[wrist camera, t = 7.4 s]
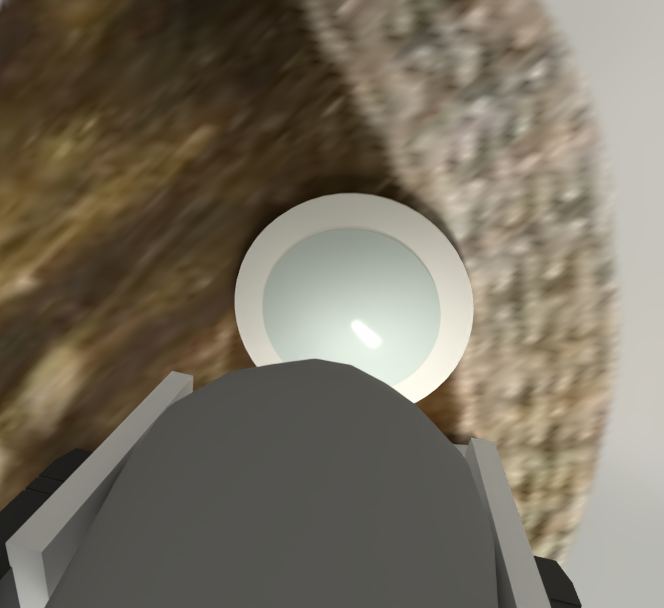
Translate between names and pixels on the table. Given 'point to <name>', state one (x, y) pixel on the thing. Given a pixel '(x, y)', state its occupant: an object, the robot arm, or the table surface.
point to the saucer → (357, 292)
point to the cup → (289, 503)
